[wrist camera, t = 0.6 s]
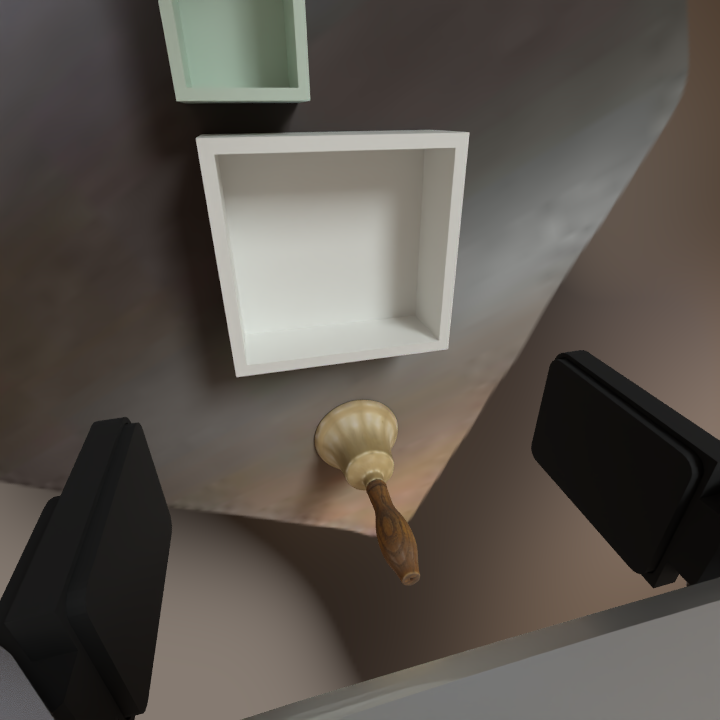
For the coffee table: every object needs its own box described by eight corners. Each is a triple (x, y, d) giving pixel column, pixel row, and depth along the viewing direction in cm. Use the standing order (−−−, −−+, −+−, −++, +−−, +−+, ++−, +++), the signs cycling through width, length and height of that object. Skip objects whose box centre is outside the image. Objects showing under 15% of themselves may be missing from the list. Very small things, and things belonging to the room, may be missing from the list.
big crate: (202, 134, 28) (195, 138, 23) (430, 129, 31) (469, 132, 26) (235, 339, 35) (236, 377, 30) (419, 318, 38) (447, 349, 33)
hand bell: (303, 462, 43) (336, 621, 29) (331, 391, 40) (382, 533, 26) (378, 472, 46) (439, 619, 33) (409, 407, 43) (491, 540, 30)
